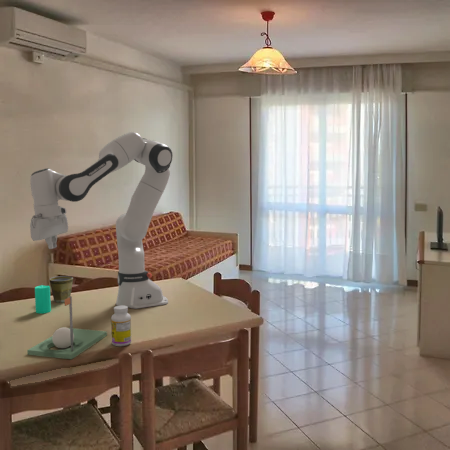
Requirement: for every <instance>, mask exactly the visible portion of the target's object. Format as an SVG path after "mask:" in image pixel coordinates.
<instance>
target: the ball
mask: <svg viewBox="0 0 450 450" xmlns="http://www.w3.org/2000/svg"><path fill="white" fill-rule="evenodd" d="M69 328H70V327H65V326H64V327H60V328H57V329H56V330H54V332H53V334H52V336H53V337H52V336H51V337H52V340H53V343H54V345H55V346H54V347H56V348H58V349H60V350H64V349H68V348H70V347H71V338H70V329H69ZM73 341H74V334H73Z"/></svg>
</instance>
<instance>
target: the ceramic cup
mask: <svg viewBox="0 0 450 450" xmlns="http://www.w3.org/2000/svg"><path fill="white" fill-rule="evenodd" d="M48 280H49V286H50V290H51V293H52V294H51V295H52V299H53V301H54V302H55V303H65V299H67V298H69V296H71V293H72V287H73V281H74V277H72V276H69V275H59V276H52V277H51V278H49V279H48Z"/></svg>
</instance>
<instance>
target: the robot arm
mask: <svg viewBox="0 0 450 450" xmlns="http://www.w3.org/2000/svg"><path fill="white" fill-rule="evenodd" d="M133 161H135V162H137V163H140V164H142V165H143V166H144V167H145V168H144V173H143V175H142V177H141V178H140V180H139V183H137V186H136V188H135V190H134V191H133V194H132V195H131V199H130V202H129V205H128V208H127V210H126V213H123V214H121V215H120V216H119V217H118V218H117V219H116V221H115V235H116V243H117V244H116V245H117V253H118V271H117V285H118V290H117V291H118V292H117V298H116V302H115V305H116V306H121V305H123V306H127V307H128V308H131V309H135V310H136V309H143V308H149V307H150V308H151V307H157V306H162V305H168V304H169V300H168V298H167V297H166V296H164V295H163V290H162V287H160V286H159V284H157V283H156V282H154V281H153V280H152V279H151V278H152V277H153V274H152V273H151V272H149V271H148V270H147V271H146V270H145V267H146V265H145V264H146V263H145V250H144V245H143V239H145V238H146V235H147V233H148V230H149V227H150V223H151V221H152V219H153V215H154V212H155V210H156V207H157V205H158V204H159V202H160V200H161V197H162V195H163V194H164V192H165V190H166V187H167V185H168V182H169V178H170V176H171V175H170V174H171V171H170V170H169V169H170V167H171V164H172V161H173V151H172V148H170V147H169V146H168V145H167V144H165V143H161V142H159V141H156V140H154V139H153V140H152V139H147V138H143V137H142V136H141V135H140V134H139V133H137V132H135V131H129V132H127V133H124V134H122V135H119V136H118V137H116V138H115V139H112V140H111V141H110V142H108V143H107V144H106V145H104V146H103V148H101V149H100V151H99V153H98V159H97V161H95V162H94V163H92V164H91V165H90V166H88V167H87V168H85V169H83V171H81V172H78V173H72V174H69V175H67V174H63V173H59V172H57V171H54V170H53V169H51V168H43V169H39V170H36V171H33V172H32V174H30V180H29V181H30V191H31V196H32V198H33V211H34V214H33V215H32V217H31V219H30V223H29V229H30V238H31V240H32V241H34V242H35V241H36V242H37V241H42V240H45V242H46V244H47V247H48V249H49V250H53V249H56V248H57V247H58V245H57V241H58V235H62V234H65V233H68V230H69V222H68V217H67V215H66V214H67V209H66V207H63V206H61V205H59V202H58V201H59V200H62V201H68V202H72V203H73V202H75V203H76V202H79V201H81V200H84V199H85V198H86V197H87V195H88V193H89V192H90V190H91V188H92V187H93V186H94V185H96V184H97V183H98V182H99V181H100V180H102V179H103V178H105V177H106V176H107V175H109V174H111V173H114V172H115V171H119V170H121V169H122V168H124V167H126V166H127V165H129V163H131V162H133Z"/></svg>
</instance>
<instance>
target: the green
mask: <svg viewBox="0 0 450 450" xmlns="http://www.w3.org/2000/svg"><path fill="white" fill-rule="evenodd" d="M64 306H65V307H66V306H69V310H68V311H69V327H68V328H69V329H70V338H71V345H70V347H67V348H64V349H51V348H53V347H56V346H55V345H54V343H53V340H52V337H53V335H52V336H50V337H48V338H46V339H44V340H43V341H41V342H39V343H37V344H36V345H34V346H32V347H31V348H29V349H27V355H28V356H38V357H45V358H47V357H48V358H56V359H57V358H58V359H67V360H73V359H74V358H76V357H77V356H79V355H80V354H82V353H83V352H84V351H86V350H88V349H90V348H91V347H92V346H94V345H95V344H97V343H98V342H99V341H101V340H102V339H104V338H105V337H107V336H108V331H106V330H96V329H95V330H94V329H84V328H83V329H82V328H74V327H73V321H74V320H73V296H69V298H67V299H65V302H64ZM73 334H74V341H73ZM96 342H97V343H96Z"/></svg>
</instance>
